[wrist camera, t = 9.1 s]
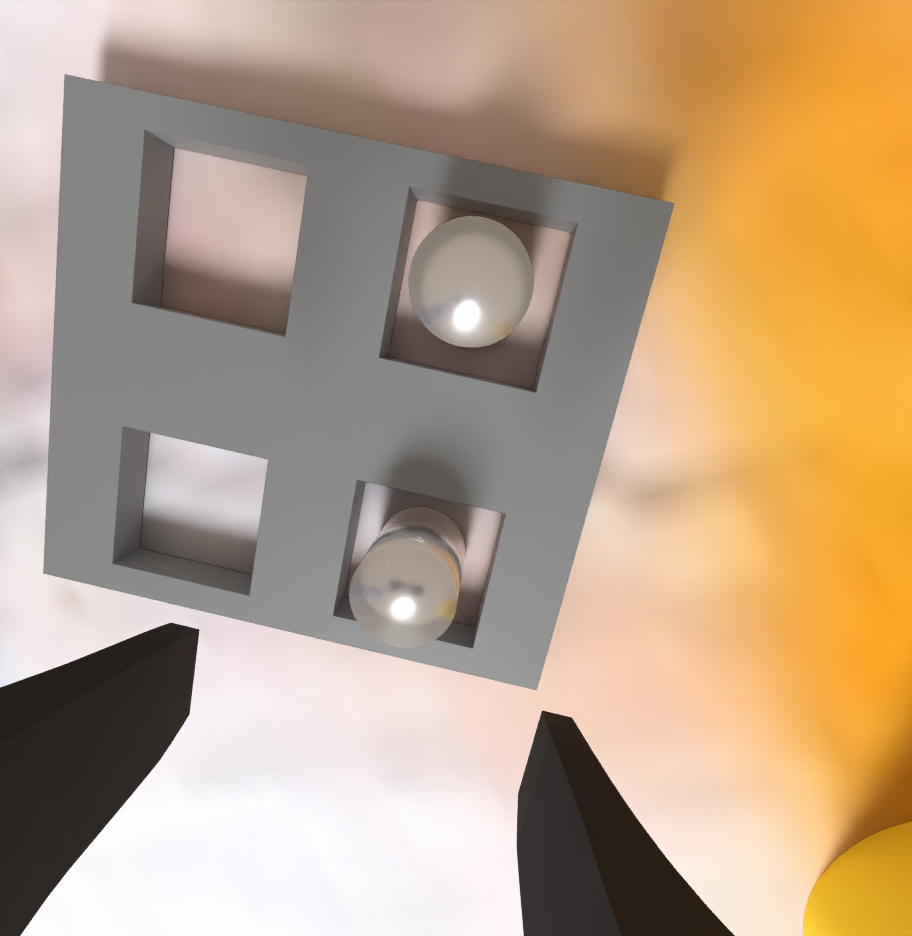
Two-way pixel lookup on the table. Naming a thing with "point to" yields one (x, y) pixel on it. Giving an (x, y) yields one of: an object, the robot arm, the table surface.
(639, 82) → the table surface
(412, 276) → the pin
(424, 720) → the table surface
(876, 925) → the tape roll
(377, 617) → the loose pin
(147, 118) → the hole board
